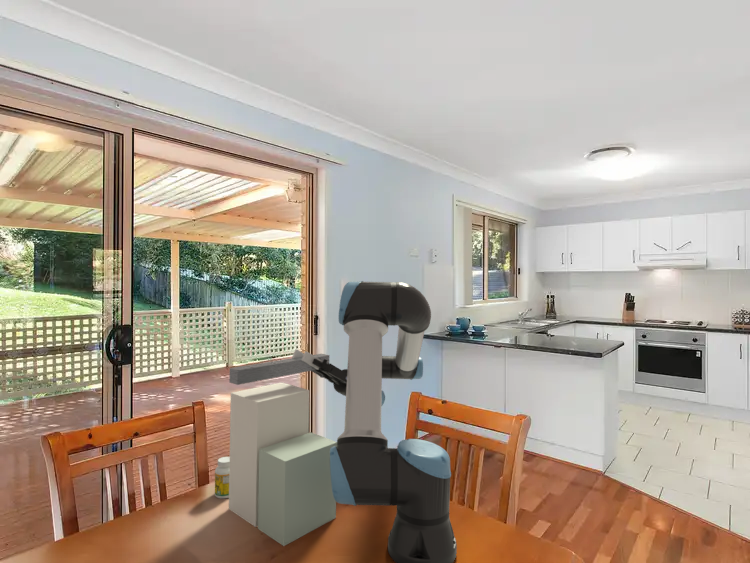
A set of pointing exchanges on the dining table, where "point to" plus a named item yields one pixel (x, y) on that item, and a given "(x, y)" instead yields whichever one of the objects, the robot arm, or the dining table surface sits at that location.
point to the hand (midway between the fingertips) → (299, 355)
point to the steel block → (271, 369)
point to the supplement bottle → (222, 478)
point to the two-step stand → (278, 463)
